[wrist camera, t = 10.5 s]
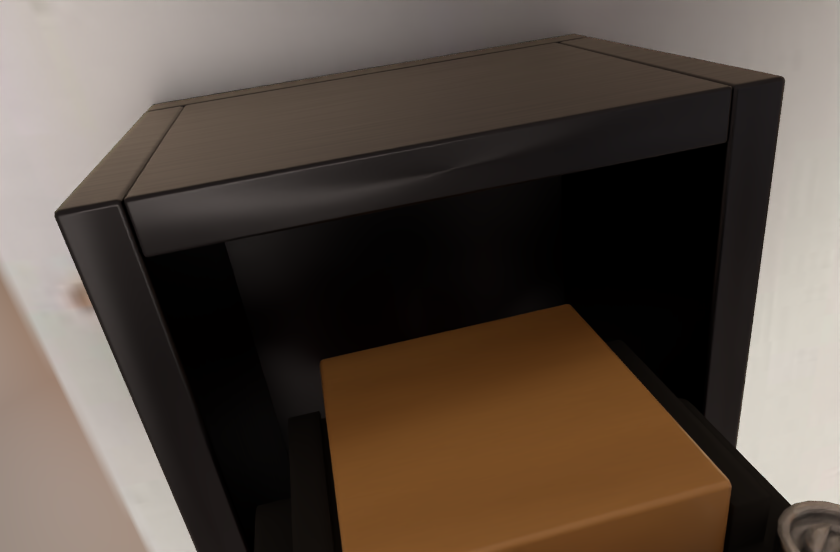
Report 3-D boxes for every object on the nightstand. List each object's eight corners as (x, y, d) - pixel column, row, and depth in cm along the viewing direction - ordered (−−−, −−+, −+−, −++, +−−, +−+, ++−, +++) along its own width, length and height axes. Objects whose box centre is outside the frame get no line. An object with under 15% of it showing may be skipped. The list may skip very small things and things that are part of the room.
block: (318, 358, 11) (346, 590, 7) (569, 301, 11) (735, 483, 7) (363, 543, 13) (405, 805, 9) (574, 486, 13) (705, 707, 9)
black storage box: (150, 104, 13) (49, 212, 7) (575, 33, 15) (788, 75, 9) (292, 545, 20) (300, 798, 14) (581, 468, 21) (707, 670, 15)
